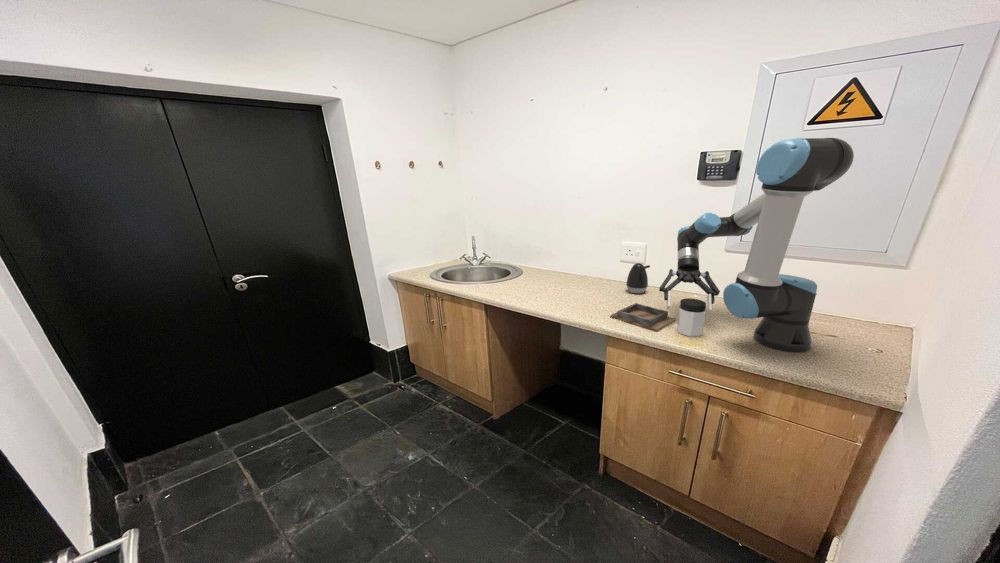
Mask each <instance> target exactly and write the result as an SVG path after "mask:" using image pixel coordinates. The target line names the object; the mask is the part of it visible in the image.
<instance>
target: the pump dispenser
mask: <svg viewBox="0 0 1000 563" xmlns="http://www.w3.org/2000/svg"><path fill="white" fill-rule="evenodd" d="M650 267H651V265H650V264H649V265H644V264H643V263H640V262H637V263H635V264H633V265H632V266H631V268H630V269H629V270H630V271H629V272H628V275H627V277H626V278H627V279H626V284H625V285H626V287H627V290H628V291H629V292H630V293H632V294H642V293H645V291H646V290H647V288H648V286H649V277H648V273H647V270H646V269H649V268H650Z"/></svg>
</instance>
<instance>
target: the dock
mask: <svg viewBox="0 0 1000 563" xmlns="http://www.w3.org/2000/svg"><path fill="white" fill-rule="evenodd" d="M668 315H669V311H667V310H664V309H659V308H657V307H653V306H648V305H645V304H641V303H637V302H635V303H633V304H631V305H627V306H626V307H624V308H622V309H619V310H618V311H616V312H613V313H612V314H610V318H611V317H612V318H611V319H614V318H615V319H614V320H617V319H618V321H620V320H621V321H622V322H623V321H624V323H627V324H630V325H633V326H636V327H640V328H643V329H645V330H649V331H652V332H655V333H657V332H659V331H661V330H663V329H665V328H667V327H668V326H670V325H672V324H673V323H675V322H676V318H673V317H669V316H668Z"/></svg>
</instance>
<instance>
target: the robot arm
mask: <svg viewBox="0 0 1000 563" xmlns="http://www.w3.org/2000/svg"><path fill="white" fill-rule="evenodd" d="M854 157H855V155H854V150H853V148H852V146H851V145H850V144H849V143H848V142H847V141H845V140H843V139H841V138H836V137H822V138H819V137H817V138H816V137H815V138H814V137H813V138H810V137H809V138H805V137H803V138H801V137H800V138H799V137H797V138H790V139H789V138H788V139H781V140H780V141H777V142H775V143H773V144H772V145H770V147H768V148H766V150H765V151H764V152H763V153H762V154H761V156H760V157H759V160H758V161H757V165H756V170H755V171H756V176H757V179H758V180H759V181H760V182H761V183H762V185H761V188H760V190H762V191H763V193H762V194H761V195H759V196H758V197H756V198H755V199H753V200H751V201H750V202H749V203H747V205H744V206H743V207H742V208H741V209H739V210H737V211H736V212H734V213H733V214H731V215H729V216H721V217H719V215H717V214H716V213H712V212H705V213H703V214H702V215H701V216H699V217H697V219H696V220H695V221H694V222H693V223H692V224H691V225H685V226H684V227H681V228H680V229H679V230H678V231H677V238H676V239H677V271H676V270H673V269H669V271H668V274H667V276H666V278H665V279H664V281H663V282H662V283H661V284H660V286H659V289H658V290H659V292H662V293H663V300H664V301H666V309H667V310H670V307H671V290H672V289H674V288H675V287H676V286H677V285H679V284H680V283H681V282H683V283H684V284H685V283H686V284H687V283H689V284H693V283H694V284H695V285H697V286H698V287H699V288H700V289H702V291H703V292H705V293H706V295H707V297H706V298H707V300H706V302H707V303H706V308H707V314H709V313H711V312H712V310H713V309H712V307H713V306H712V305H713V304H715V296H716V297H718V296H719V294H720V292H721V291H720V289H719V288H718V286H717V285H716V283H715V282H714V280H713V279H712V278H711V275H710V272H709V271H708V270H706V271H705V272H704V271H703V272H701V271H700V254H699V253H700V252H699V249H700V248H699V246H700V244H702V243H703V242H704V241H705V240H706V239H708V238H717V237H719V238H720V237H722V238H723V237H741V236H746V235H748V234H749V233H750V232H751V230H752V229H753V227H754V226H755V225H756V229H755V232H754V236H753V240H752V243H751V247H750V249H749V250H750V251H749V254H748V256H747V260H746V263H745V268H744V270H742V271H740V272H738V273H737V275H736V279H735V281H734V282H732V283H730V284H728V285H726V286H725V288H724V289H723V294H722V296H723V297H722V298H723V303H724V305H725V306H726V309H727V310H728V311H729V313H730V314H731V315H733V316H734V317H735V318H739V319H749V320H753V319H757V318H762V319H761V320H760V321H759V323H758V324H757V326H756V327H755V329H754V331H753V339H754V340H755V341H757V343H759V344H762V345H763V346H766V347H769V348H772V349H775V350H779V351H785V352H792V353H803V352H807V351H809V350H811V347H812V336H811V331H810V328H809V325H810V320H811V316H812V312H813V308H814V304H815V301H816V300H815V299H816V296H817V291H818V284H817V283H816V281H815V280H812V279H809V278H805V277H801V276H796V275H790V274H783V273H780V272H781V268H782V265H783V262H784V260H785V255H786V253H787V251H788V247H789V245H790V241H791V239H792V235H793V232H794V229H795V227H796V223H797V220H798V216H799V213H800V210H801V208H802V206H803V201H804V198H806V196H808V195H810V194H812V193H813V192H818V191H821V190H823V189H824V188H827V187H828V186H830V185H832V184H833V183H835V182H836V181H838V180H839V179H841V178H842V177H843V176H844V175H846V173H847V172H848V170H850V169H851V167H852V164H853V162H854ZM675 275H676V277H677V278H676V279H675V280H673V281H672V282H671V283H670V284H669V282H670V281H671V279H672V277H674V276H675ZM701 277H702V278H701ZM702 279H704V281H705V282H706V283H705V282H704V281H703V280H702ZM668 284H669V285H668Z"/></svg>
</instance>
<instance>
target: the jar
mask: <svg viewBox="0 0 1000 563" xmlns="http://www.w3.org/2000/svg"><path fill="white" fill-rule="evenodd" d="M706 308H707V303H706V302H705V301H703V300H702V299H698V298H697V299H696V298H691V297H690V298H688V297H687V298H682V299H681V300H680V303H679V309H678V318H677V325H676V329H677V333H678V334H679V335H683V336H687V337H691V338H693V337H702V336H703V332H704V331H703V330H704V325H705V316H706Z"/></svg>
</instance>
